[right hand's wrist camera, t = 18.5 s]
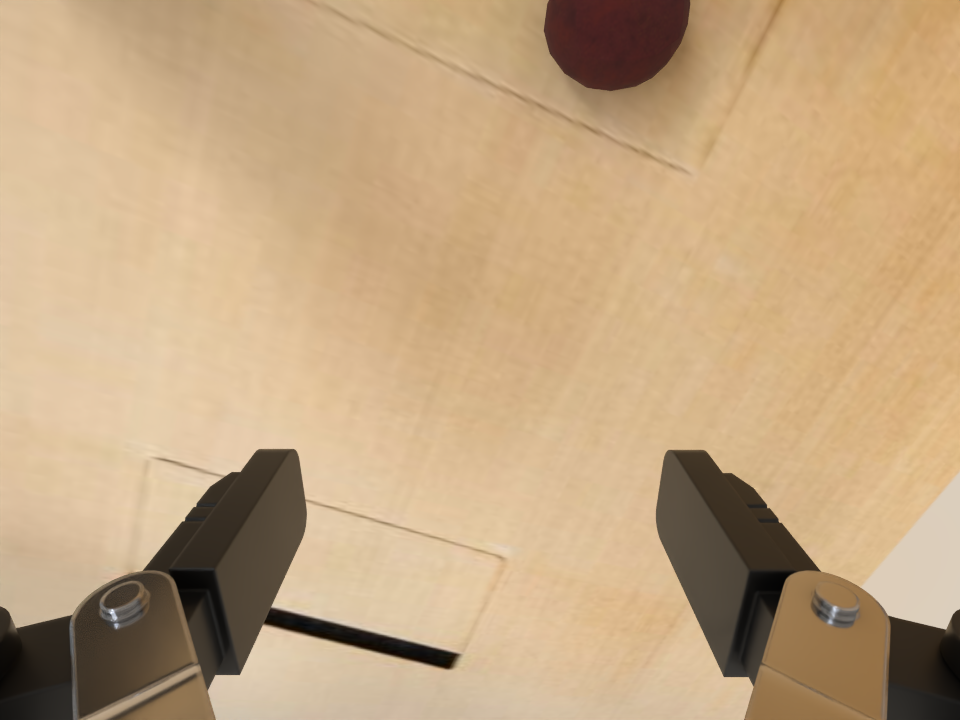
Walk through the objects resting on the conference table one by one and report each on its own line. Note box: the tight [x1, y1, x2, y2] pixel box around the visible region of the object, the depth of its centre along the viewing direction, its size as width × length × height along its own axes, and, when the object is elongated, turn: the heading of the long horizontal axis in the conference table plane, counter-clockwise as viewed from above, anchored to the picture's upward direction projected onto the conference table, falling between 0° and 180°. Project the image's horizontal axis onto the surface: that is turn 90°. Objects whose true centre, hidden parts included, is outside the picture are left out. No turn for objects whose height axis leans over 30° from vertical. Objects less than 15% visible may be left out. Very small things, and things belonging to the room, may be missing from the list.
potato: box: [544, 0, 690, 91], centre depth 29 cm, size 7×8×7 cm
